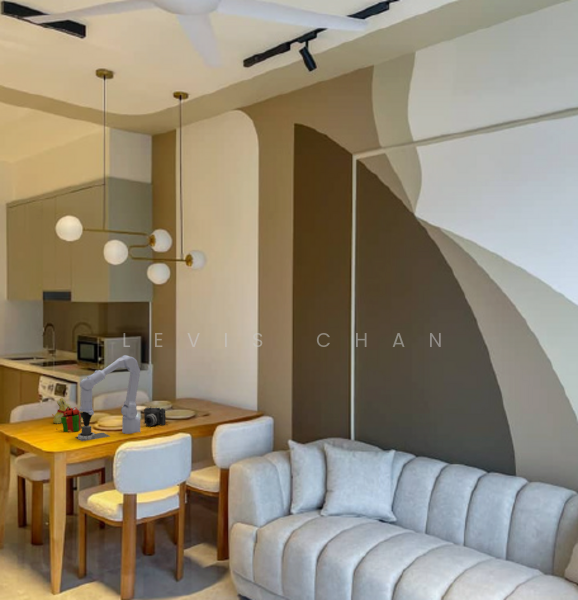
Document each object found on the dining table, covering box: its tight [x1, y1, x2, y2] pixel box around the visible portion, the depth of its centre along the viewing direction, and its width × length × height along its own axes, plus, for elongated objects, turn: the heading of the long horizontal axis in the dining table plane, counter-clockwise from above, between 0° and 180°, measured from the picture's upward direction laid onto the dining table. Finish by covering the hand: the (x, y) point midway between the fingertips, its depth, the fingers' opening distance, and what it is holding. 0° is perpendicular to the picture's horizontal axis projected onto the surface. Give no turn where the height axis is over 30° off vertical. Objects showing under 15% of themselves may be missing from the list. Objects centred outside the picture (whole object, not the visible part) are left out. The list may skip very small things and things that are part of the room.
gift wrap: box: [51, 406, 83, 434], centre depth 333 cm, size 20×19×14 cm
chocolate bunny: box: [52, 397, 72, 425], centre depth 357 cm, size 7×11×15 cm, turn 137°
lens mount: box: [74, 431, 111, 442], centre depth 322 cm, size 16×10×3 cm, turn 131°
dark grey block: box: [81, 425, 92, 436], centre depth 320 cm, size 5×5×6 cm
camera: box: [143, 406, 166, 427], centre depth 354 cm, size 14×11×10 cm
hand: (86, 425), depth 320 cm, fingers closed
